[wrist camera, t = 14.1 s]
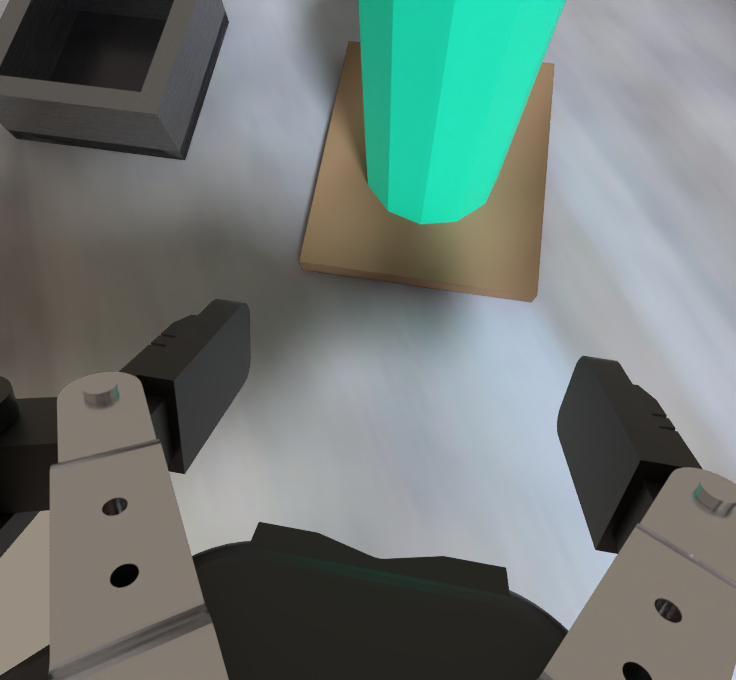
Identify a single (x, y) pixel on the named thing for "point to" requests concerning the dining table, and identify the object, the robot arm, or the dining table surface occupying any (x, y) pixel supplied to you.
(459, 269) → the walnut board
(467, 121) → the candle
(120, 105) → the box
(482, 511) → the dining table surface
